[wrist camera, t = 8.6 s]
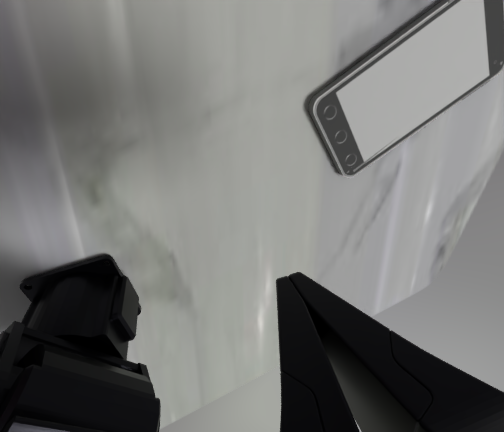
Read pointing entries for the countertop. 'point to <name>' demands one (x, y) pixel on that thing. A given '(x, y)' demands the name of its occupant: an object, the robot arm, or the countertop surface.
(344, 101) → the smartphone
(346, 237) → the countertop surface
